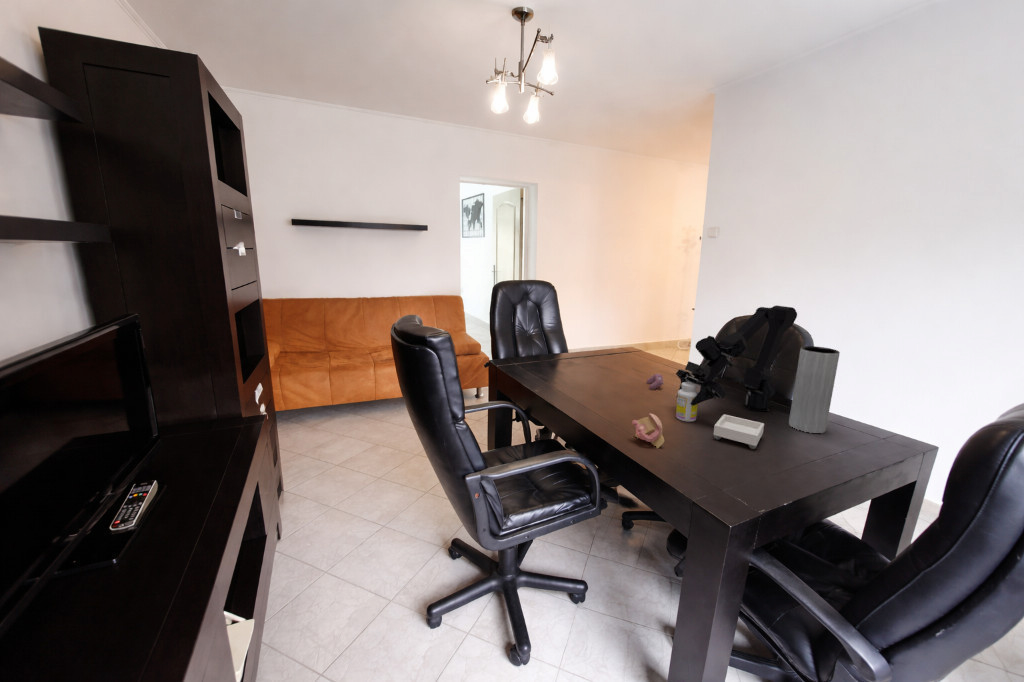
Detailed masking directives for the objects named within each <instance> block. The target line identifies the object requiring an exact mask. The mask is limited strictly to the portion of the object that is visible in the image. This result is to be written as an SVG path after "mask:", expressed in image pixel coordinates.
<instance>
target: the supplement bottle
mask: <svg viewBox="0 0 1024 682" xmlns="http://www.w3.org/2000/svg"><path fill="white" fill-rule="evenodd" d="M680 385H681V384H680ZM681 387H682V389H680V390H679V389H678V391H677V394H678V397H677V396H676V399H677V400H676V401H677V402H676V412H675V416H676V418H677V419H678V420H679V421H683V422H689V423H690V422H695V421H696V420H697V415H698V414H697V413H698V407H699V405H698V404H699V403H698V404H696V405H694V406H692V405H691V402H692V400H693V399H694V398H695V397H696V395H697V394H698V393H699V392H698V391H696V389H697V384H694V383H691V382H683V383H682V385H681Z"/></svg>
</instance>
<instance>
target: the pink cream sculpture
mask: <svg viewBox="0 0 1024 682" xmlns="http://www.w3.org/2000/svg"><path fill="white" fill-rule="evenodd" d="M631 423H632V425H633V426H634V428H635V435H634V436H635V437H637V438H636V439H638V438H639V439H640V440H642V441H646V443H648V442H650V444H652V445H653V446H654V447H655V446H656V447H655V448H656V449H659V448H660V447H661V446H662V445H663V444H664V442H665V438H664V436H663V424H662V421H661V420H660V418H659V417H658V416H657V415H656V414H653V413H648V416H646V417H641V418H640V419H633V420H632V421H631Z"/></svg>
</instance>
